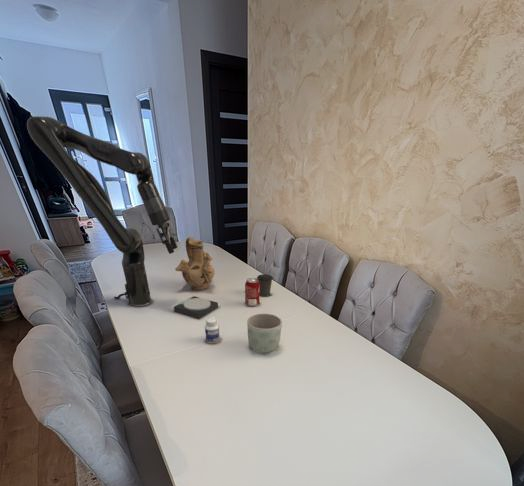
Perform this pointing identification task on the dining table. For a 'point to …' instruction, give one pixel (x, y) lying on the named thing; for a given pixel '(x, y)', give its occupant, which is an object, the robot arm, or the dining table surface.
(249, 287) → the soda can
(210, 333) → the pill bottle
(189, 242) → the ceramic vessel
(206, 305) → the scale
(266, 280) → the coffee cup
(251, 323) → the planter
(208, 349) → the dining table surface
